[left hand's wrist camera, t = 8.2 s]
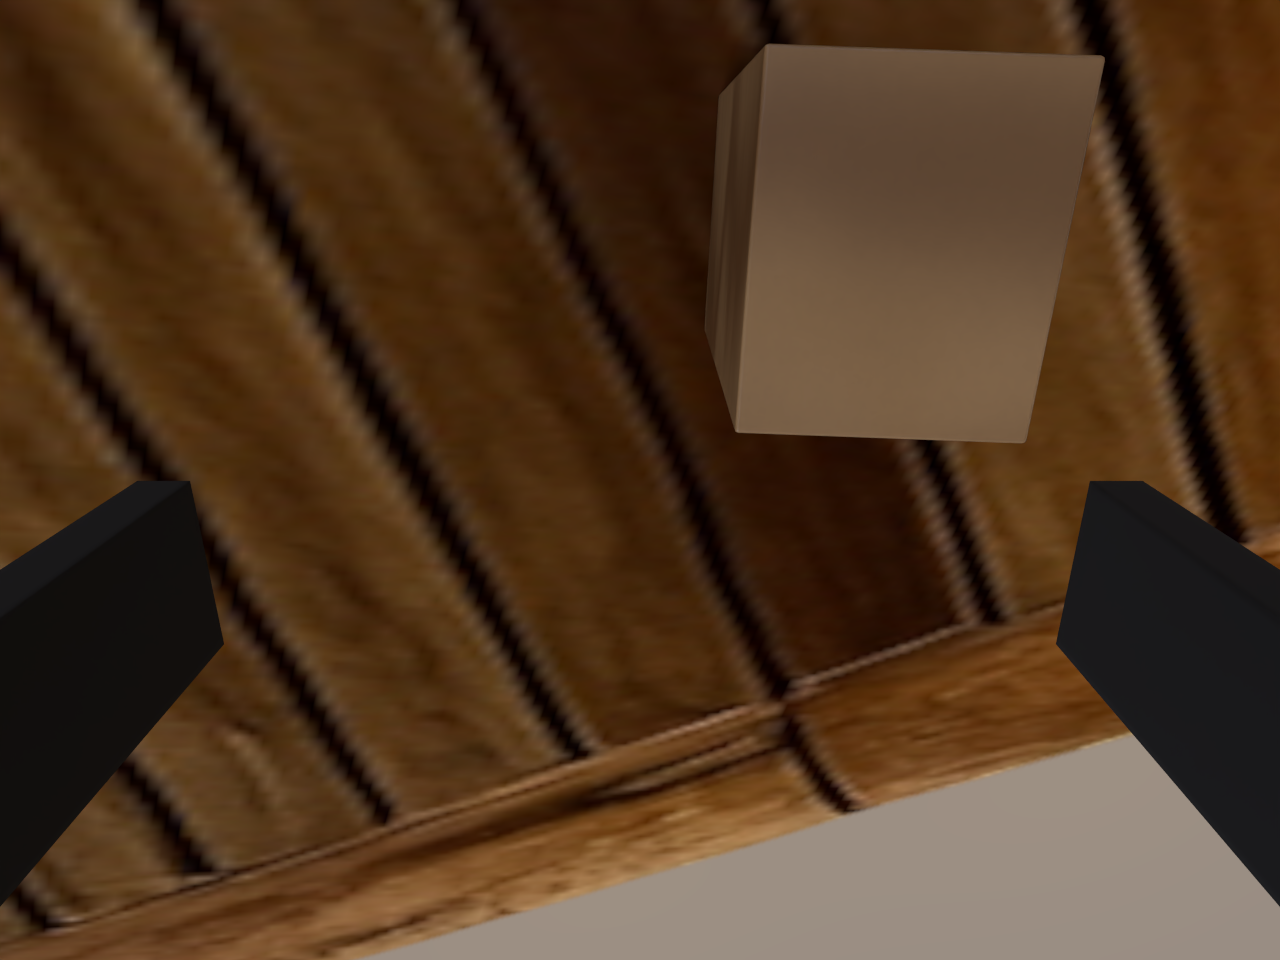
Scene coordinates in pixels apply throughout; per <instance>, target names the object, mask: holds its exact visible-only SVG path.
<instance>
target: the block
mask: <svg viewBox="0 0 1280 960" xmlns="http://www.w3.org/2000/svg"><path fill="white" fill-rule="evenodd" d="M1104 62H1105V58H1104V57H1103V56H1101V55H1073V54H1045V53H1017V52H989V51H961V50H932V49H904V48H876V47H848V46H820V45H792V44H767V45H765V46H764V47H763V48H762V49H761V51H760V52H759V53H758V54H757V55H756V56H755V57H754V58H753V59H752V60H751V61H750V62H749V64H748V65H747V66H746V67H745V68H744V69H743V70H742V71H741V72H740V73H739V74H738V76H737V77H736V78H735V79H734V80H733V81H732V82H731V83H730V84H729V85H728V86H727V87H726V89H725V90H724V91H723V92H722V93H721V94H720V95H719V103H718V119H717V135H716V152H715V168H714V184H713V201H712V217H711V233H710V250H709V266H708V282H707V299H706V315H705V332H706V335H707V339H708V342H709V345H710V349H711V352H712V355H713V359H714V362H715V365H716V369H717V372H718V375H719V379H720V382H721V385H722V389H723V392H724V395H725V399H726V402H727V405H728V409H729V412H730V415H731V419H732V422H733V425H734V429H735V431H736V432H738V433H760V434H787V435H814V436H840V437H867V438H894V439H921V440H947V441H974V442H1001V443H1025V441H1026V439H1027V434H1028V429H1029V424H1030V419H1031V414H1032V410H1033V405H1034V400H1035V395H1036V390H1037V385H1038V381H1039V376H1040V371H1041V366H1042V361H1043V356H1044V352H1045V347H1046V342H1047V337H1048V332H1049V327H1050V323H1051V318H1052V313H1053V308H1054V303H1055V298H1056V294H1057V289H1058V284H1059V279H1060V274H1061V269H1062V265H1063V260H1064V255H1065V250H1066V245H1067V240H1068V236H1069V231H1070V226H1071V221H1072V216H1073V211H1074V207H1075V202H1076V197H1077V192H1078V187H1079V182H1080V178H1081V173H1082V168H1083V163H1084V158H1085V153H1086V149H1087V144H1088V139H1089V134H1090V129H1091V124H1092V120H1093V115H1094V110H1095V105H1096V100H1097V95H1098V91H1099V86H1100V81H1101V76H1102V71H1103V67H1104Z"/></svg>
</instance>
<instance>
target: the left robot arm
mask: <svg viewBox="0 0 1280 960" xmlns="http://www.w3.org/2000/svg"><path fill="white" fill-rule="evenodd" d="M223 645H224V642H223V637H222V632H221V628H220V623H219V618H218V613H217V608H216V604H215V599H214V594H213V589H212V584H211V580H210V575H209V570H208V565H207V561H206V556H205V551H204V546H203V541H202V537H201V532H200V527H199V522H198V518H197V513H196V508H195V503H194V498H193V494H192V489H191V484H190V481H137V482H135V483H134V484H132V485H131V486H129V487H127V488H126V489H124V490H123V491H121V492H120V493H118V494H117V495H115V496H114V497H112V498H110V499H109V500H107V501H106V502H104V503H103V504H101V505H100V506H98V507H97V508H95V509H93V510H92V511H90V512H89V513H87V514H86V515H84V516H83V517H81V518H80V519H78V520H76V521H75V522H73V523H72V524H70V525H69V526H67V527H66V528H64V529H63V530H61V531H60V532H58V533H56V534H55V535H53V536H52V537H50V538H49V539H47V540H46V541H44V542H43V543H41V544H39V545H38V546H36V547H35V548H33V549H32V550H30V551H29V552H27V553H26V554H24V555H22V556H21V557H19V558H18V559H16V560H15V561H13V562H12V563H10V564H9V565H7V566H5V567H4V568H2V569H1V570H0V906H1V905H2V904H3V903H4V901H5V900H6V899H7V898H8V897H9V896H10V894H11V893H12V892H13V891H14V890H15V889H16V887H17V886H18V885H19V884H20V883H21V882H22V880H23V879H24V878H25V877H26V876H27V874H28V873H29V872H30V871H31V870H32V869H33V867H34V866H35V865H36V864H37V863H38V862H39V860H40V859H41V858H42V857H43V856H44V855H45V853H46V852H47V851H48V850H49V849H50V848H51V846H52V845H53V844H54V843H55V842H56V840H57V839H58V838H59V837H60V836H61V835H62V833H63V832H64V831H65V830H66V829H67V828H68V826H69V825H70V824H71V823H72V822H73V821H74V819H75V818H76V817H77V816H78V815H79V813H80V812H81V811H82V810H83V809H84V808H85V806H86V805H87V804H88V803H89V802H90V801H91V799H92V798H93V797H94V796H95V795H96V794H97V792H98V791H99V790H100V789H101V788H102V786H103V785H104V784H105V783H106V782H107V781H108V779H109V778H110V777H111V776H112V775H113V774H114V772H115V771H116V770H117V769H118V768H119V767H120V765H121V764H122V763H123V762H124V761H125V760H126V758H127V757H128V756H129V755H130V754H131V752H132V751H133V750H134V749H135V748H136V747H137V745H138V744H139V743H140V742H141V741H142V740H143V738H144V737H145V736H146V735H147V734H148V733H149V731H150V730H151V729H152V728H153V727H154V725H155V724H156V723H157V722H158V721H159V720H160V718H161V717H162V716H163V715H164V714H165V713H166V711H167V710H168V709H169V708H170V707H171V706H172V704H173V703H174V702H175V701H176V700H177V698H178V697H179V696H180V695H181V694H182V693H183V691H184V690H185V689H186V688H187V687H188V686H189V684H190V683H191V682H192V681H193V680H194V679H195V677H196V676H197V675H198V674H199V673H200V672H201V670H202V669H203V668H204V667H205V666H206V664H207V663H208V662H209V661H210V660H211V659H212V657H213V656H214V655H215V654H216V653H217V652H218V650H219V649H220V648H221V647H222V646H223ZM1056 645H1057V646H1058V647H1059V648H1060V649H1061V650H1062V652H1063V653H1064V654H1065V655H1066V656H1067V657H1068V659H1069V660H1070V661H1071V662H1072V663H1073V664H1074V666H1075V667H1076V668H1077V669H1078V670H1079V672H1080V673H1081V674H1082V675H1083V676H1084V677H1085V679H1086V680H1087V681H1088V682H1089V683H1090V684H1091V686H1092V687H1093V688H1094V689H1095V690H1096V691H1097V693H1098V694H1099V695H1100V696H1101V697H1102V698H1103V700H1104V701H1105V702H1106V703H1107V704H1108V706H1109V707H1110V708H1111V709H1112V710H1113V711H1114V713H1115V714H1116V715H1117V716H1118V717H1119V718H1120V720H1121V721H1122V722H1123V723H1124V724H1125V725H1126V727H1127V728H1128V729H1129V730H1130V731H1131V733H1132V734H1133V735H1134V736H1135V737H1136V738H1137V740H1138V741H1139V742H1140V743H1141V744H1142V745H1143V747H1144V748H1145V749H1146V750H1147V751H1148V752H1149V754H1150V755H1151V756H1152V757H1153V758H1154V760H1155V761H1156V762H1157V763H1158V764H1159V765H1160V767H1161V768H1162V769H1163V770H1164V771H1165V772H1166V774H1167V775H1168V776H1169V777H1170V778H1171V779H1172V781H1173V782H1174V783H1175V784H1176V785H1177V786H1178V788H1179V789H1180V790H1181V791H1182V792H1183V794H1184V795H1185V796H1186V797H1187V798H1188V799H1189V800H1190V802H1191V803H1192V804H1193V805H1194V806H1195V808H1196V809H1197V810H1198V811H1199V812H1200V813H1201V815H1202V816H1203V817H1204V818H1205V819H1206V820H1207V822H1208V823H1209V824H1210V825H1211V826H1212V828H1213V829H1214V830H1215V831H1216V832H1217V833H1218V835H1219V836H1220V837H1221V838H1222V839H1223V840H1224V842H1225V843H1226V844H1227V845H1228V846H1229V847H1230V849H1231V850H1232V851H1233V852H1234V853H1235V855H1236V856H1237V857H1238V858H1239V859H1240V860H1241V862H1242V863H1243V864H1244V865H1245V866H1246V867H1247V869H1248V870H1249V871H1250V872H1251V873H1252V874H1253V876H1254V877H1255V878H1256V879H1257V880H1258V882H1259V883H1260V884H1261V885H1262V886H1263V887H1264V889H1265V890H1266V891H1267V892H1268V893H1269V894H1270V896H1271V897H1272V898H1273V899H1274V900H1275V901H1276V903H1277V904H1278V905H1279V906H1280V570H1279V569H1278V568H1276V567H1275V566H1273V565H1271V564H1270V563H1268V562H1267V561H1265V560H1264V559H1262V558H1261V557H1259V556H1258V555H1256V554H1254V553H1253V552H1251V551H1250V550H1248V549H1247V548H1245V547H1244V546H1242V545H1241V544H1239V543H1237V542H1236V541H1234V540H1233V539H1231V538H1230V537H1228V536H1227V535H1225V534H1224V533H1222V532H1220V531H1219V530H1217V529H1216V528H1214V527H1213V526H1211V525H1210V524H1208V523H1207V522H1205V521H1203V520H1202V519H1200V518H1199V517H1197V516H1196V515H1194V514H1193V513H1191V512H1190V511H1188V510H1187V509H1185V508H1183V507H1182V506H1180V505H1179V504H1177V503H1176V502H1174V501H1173V500H1171V499H1170V498H1168V497H1166V496H1165V495H1163V494H1162V493H1160V492H1159V491H1157V490H1156V489H1154V488H1153V487H1151V486H1149V485H1148V484H1146V483H1145V482H1143V481H1090V484H1089V489H1088V494H1087V498H1086V503H1085V508H1084V513H1083V518H1082V522H1081V527H1080V532H1079V537H1078V541H1077V546H1076V551H1075V556H1074V561H1073V565H1072V570H1071V575H1070V580H1069V584H1068V589H1067V594H1066V599H1065V604H1064V608H1063V613H1062V618H1061V623H1060V628H1059V632H1058V637H1057V642H1056Z"/></svg>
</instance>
